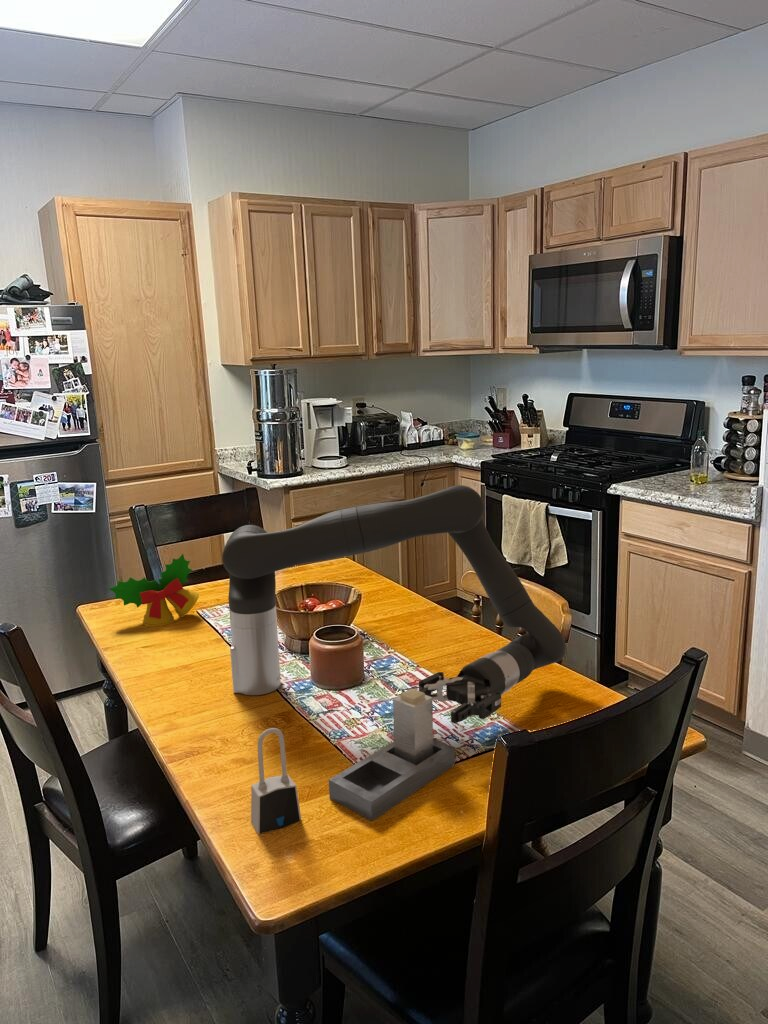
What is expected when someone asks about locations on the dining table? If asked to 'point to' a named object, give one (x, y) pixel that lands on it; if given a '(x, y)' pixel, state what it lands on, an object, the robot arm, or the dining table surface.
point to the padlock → (273, 794)
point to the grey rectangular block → (413, 726)
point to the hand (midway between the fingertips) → (432, 709)
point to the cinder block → (387, 779)
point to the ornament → (160, 594)
